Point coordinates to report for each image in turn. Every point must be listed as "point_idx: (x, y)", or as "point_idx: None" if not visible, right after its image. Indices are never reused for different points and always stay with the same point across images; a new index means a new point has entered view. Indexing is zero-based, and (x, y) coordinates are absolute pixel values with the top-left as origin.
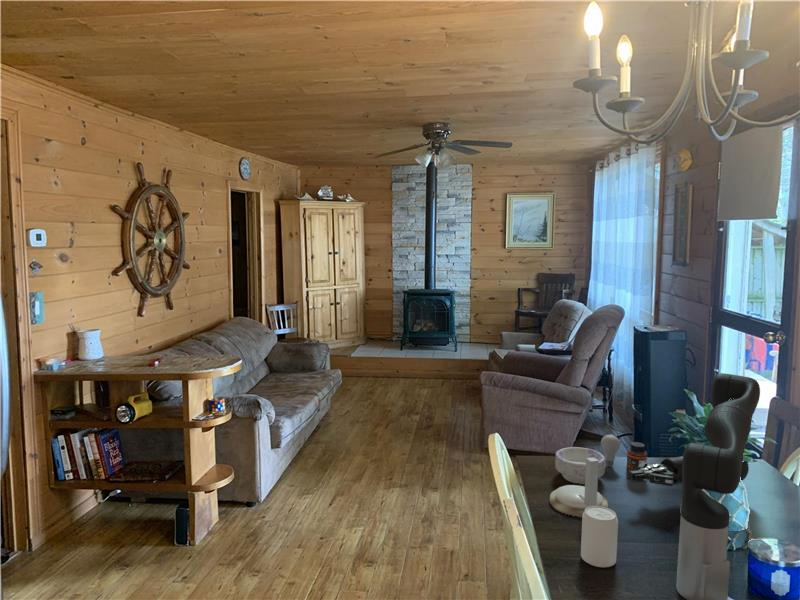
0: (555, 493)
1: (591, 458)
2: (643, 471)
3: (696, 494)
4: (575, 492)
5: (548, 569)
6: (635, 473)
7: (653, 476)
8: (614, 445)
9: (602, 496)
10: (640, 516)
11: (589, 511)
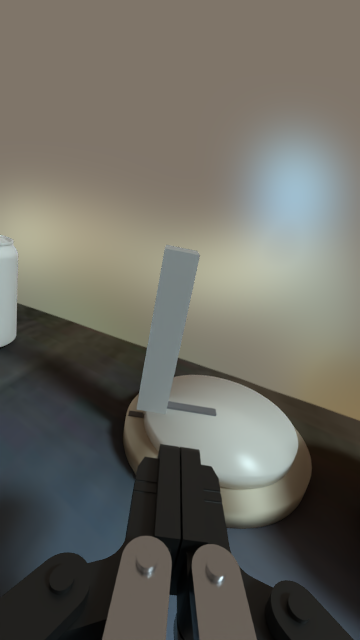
0: None
1: (191, 251)
2: (188, 574)
3: None
4: (238, 416)
5: (24, 305)
6: (159, 461)
7: (28, 585)
8: None
9: (232, 509)
10: None
11: (1, 241)
